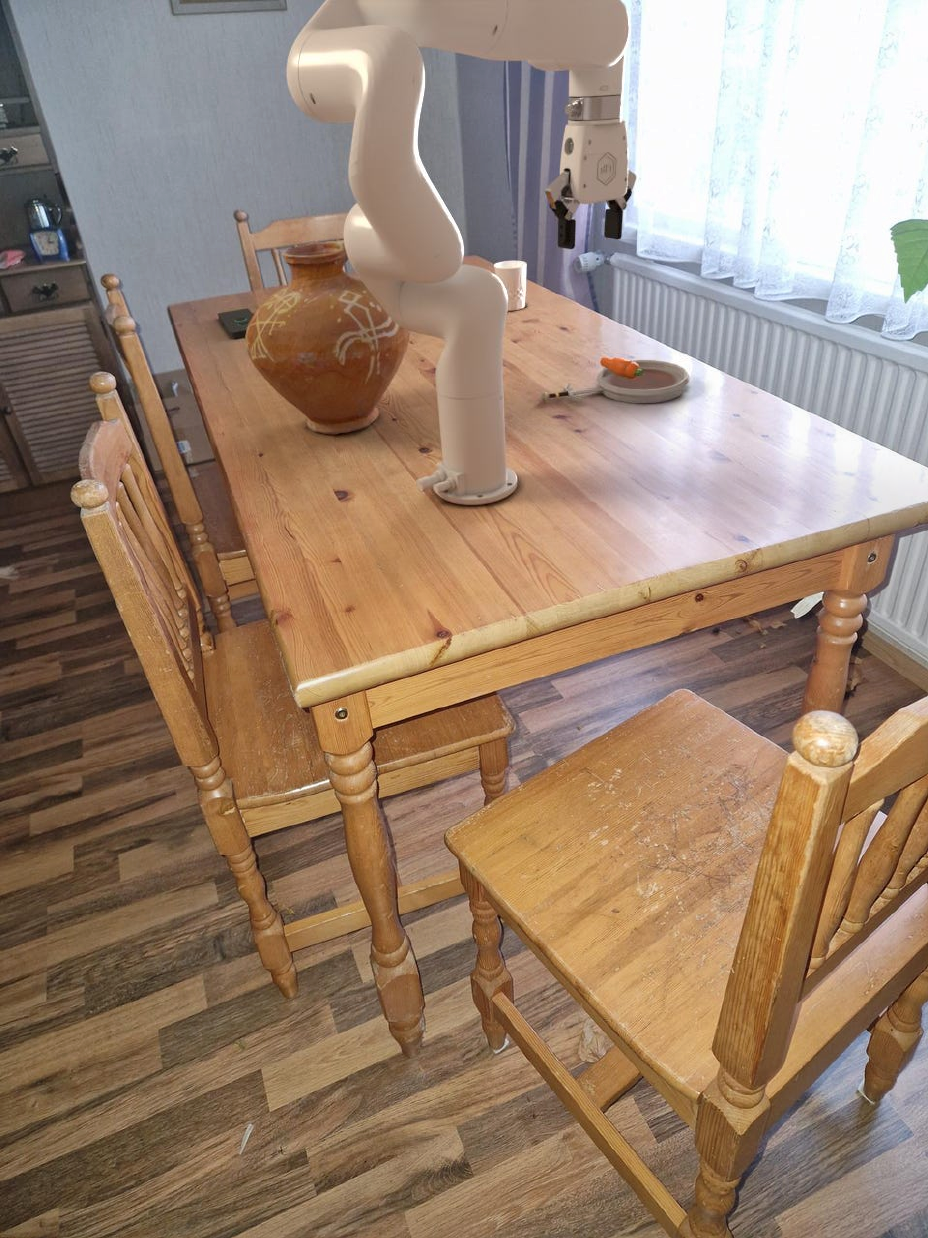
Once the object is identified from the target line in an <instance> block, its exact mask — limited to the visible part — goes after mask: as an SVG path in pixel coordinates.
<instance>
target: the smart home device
mask: <svg viewBox="0 0 928 1238" xmlns="http://www.w3.org/2000/svg"><path fill="white" fill-rule="evenodd" d="M217 316H218V321H219V323H220V324H221V325H222V327H223V328H224V329H225V331H226V333H227V334H228V335H229V336H230V338H231V339H233V340H236V339H242V338H245V337H246V330H247V327H248V324H249V322H250V320H251V319H252V317H253V316H254V313H253V312H252V311H251V310H250V309H249V308H247V307H246V308H241V309H234V310H229V311H223V312H219V313H217Z"/></svg>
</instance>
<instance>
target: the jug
mask: <svg viewBox="0 0 928 1238" xmlns="http://www.w3.org/2000/svg"><path fill="white" fill-rule="evenodd" d="M281 256H282V257H283V259H284V260H283V261H284V262H285V263H286V264H287V265H288V267H289V269H290V275H291V278H290V283H288V285H286V286H285V287H282V288H281V289H279V290H277V291H275V292H274V293H272V295H270V296H269V297H267V298H266V300H265V301H264V302H262V303H261V304H260V305H259V306H258V308H257V309H256V311H255V313H253V315H254V316H253V317H252V319H251V320H250V322H249V324H248V327H247V330H246V337H244V341H245V348H246V352H247V355H248V357H249V359H250V361H251V362H252V364H253V366H254V368H255V369H256V370H257V371H258V373H259V374H260V376H262V378H263V379H264V380H265V381H266V382H267V383H268V384H269V385H270V387H272V388H273V389H274V390H275V391H276V393H278V394H279V396H281V397H282V398H284V400H286V401H287V402H288V403H289V404H291V405H292V406H293V407H294V408H295V409H297V410H298V411H299V412H301V413H302V414H303V415H304V416H305V417H307V418H306V425H307V427H308V428H309V430H311V431H312V432H315V433H319V434H324V435H339V434H347V433H352V432H356V431H357V432H358V431H361V430H364V429H366V428H368V427H369V426H370V425H372V423H373V422H374V421H376V420H377V419H378V417H379V415H380V412H379V410H378V409H377V405H378V404H379V402H380V401H381V399H382V397H383V396H384V394H385V393H386V391H387V390H388V388H389V386H390V384H391V383H392V381H393V379H395V376H396V374H397V373H398V371H399V369H400V367H401V364H402V362H403V360H404V357H405V355H406V353H407V350H408V348H409V347H408V346H409V342H410V337H411V331H409V330H406V329H404V328H402V327H400V326H399V325H398V324H397V323H395V322H394V321H393V320H392V319H391V318H390V316H389V315H388V314H387V313H386V312H385V310H384V309H383V308H382V306H381V305H380V304H379V302H378V301H377V300H376V299H375V297H374V296H373V295H372V293H371V292H370V291H369V289H368V288H367V287H366V285H365V284H364V283H363V281H362V280H361V279H360V277H356V276H351V275H350V274H348V273H347V272H346V271H345V270H344V266H345V264H346V263H347V261H349V259H348V256H347V253H346V250H345V244H344V239H343V240H342V239H341V240H331V241H324V242H311V243H306V244H303V245H299V246H295V247H291V248H287V249H284V250H283V251H282V252H281Z"/></svg>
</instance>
